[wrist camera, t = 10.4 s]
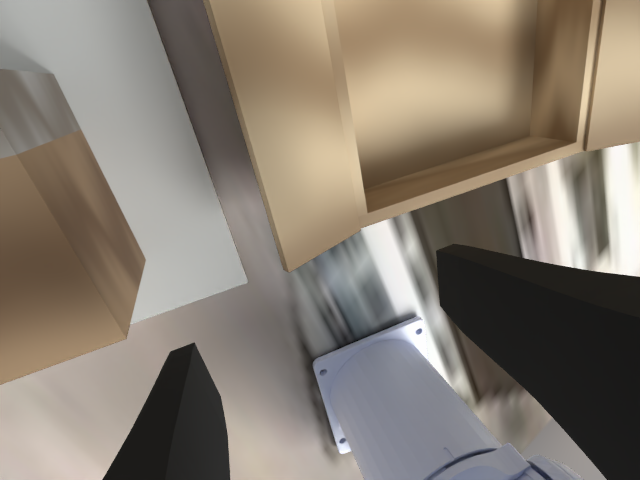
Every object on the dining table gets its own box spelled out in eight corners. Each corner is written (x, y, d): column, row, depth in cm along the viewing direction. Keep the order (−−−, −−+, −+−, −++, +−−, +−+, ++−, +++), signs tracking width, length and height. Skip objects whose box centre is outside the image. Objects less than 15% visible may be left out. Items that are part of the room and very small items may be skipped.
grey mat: (246, 278, 19) (248, 282, 19) (-1, 365, 17) (-6, 373, 16) (132, -41, 13) (130, -45, 12) (-289, 26, 11) (-310, 23, 10)
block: (146, 259, 17) (126, 338, 11) (53, 289, 16) (-14, 389, 11) (53, 73, 13) (-37, 65, 8) (-73, 100, 12) (-267, 110, 7)
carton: (577, 125, 23) (671, 134, 18) (262, 229, 18) (285, 273, 14) (610, -160, 17) (760, -248, 12) (158, -104, 13) (142, -207, 8)
